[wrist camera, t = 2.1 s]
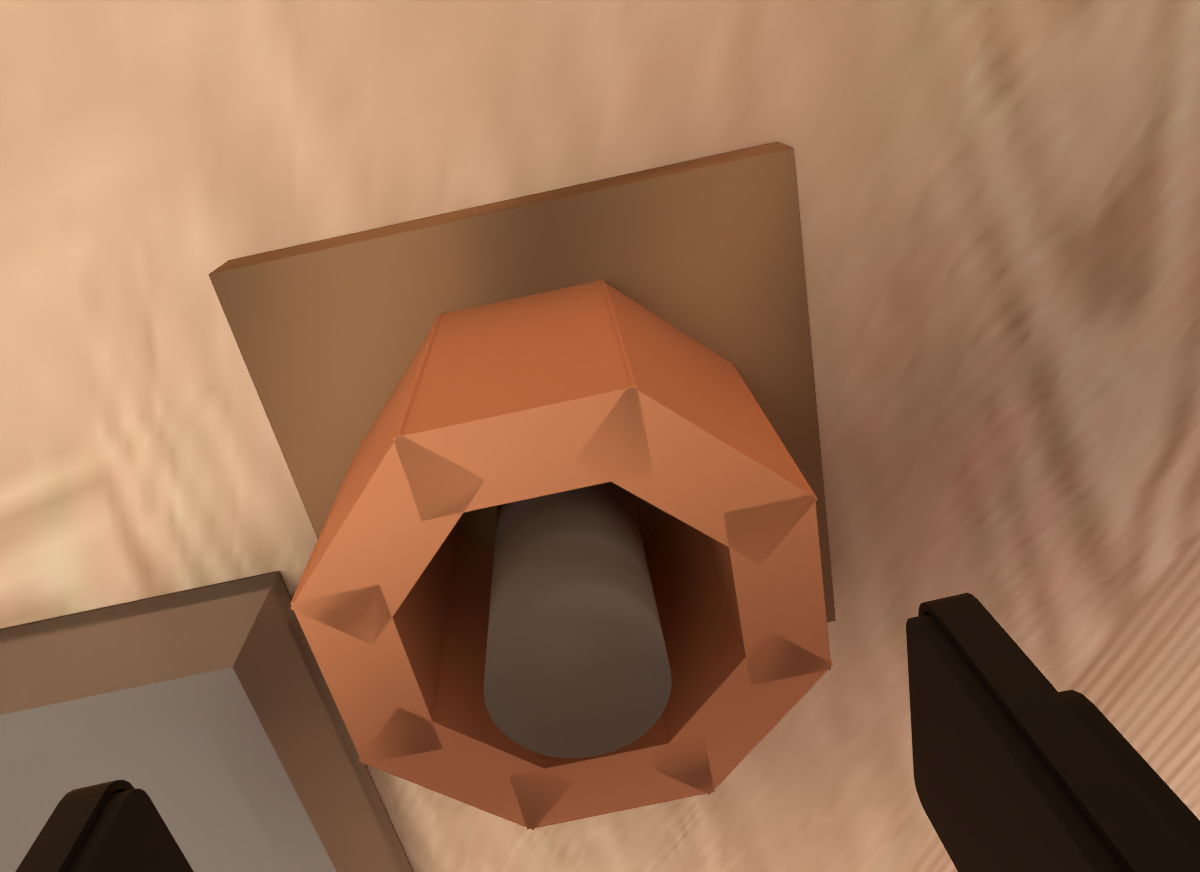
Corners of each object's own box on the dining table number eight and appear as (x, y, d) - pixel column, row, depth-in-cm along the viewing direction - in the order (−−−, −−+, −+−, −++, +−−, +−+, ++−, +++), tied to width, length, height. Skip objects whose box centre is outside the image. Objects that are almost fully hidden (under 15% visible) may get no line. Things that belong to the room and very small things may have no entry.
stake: (777, 141, 15) (963, 215, 8) (821, 593, 19) (965, 868, 13) (228, 260, 15) (0, 421, 8) (396, 680, 19) (328, 995, 13)
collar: (718, 253, 14) (804, 348, 10) (770, 637, 18) (848, 834, 14) (323, 337, 14) (226, 469, 10) (455, 702, 18) (430, 918, 14)
